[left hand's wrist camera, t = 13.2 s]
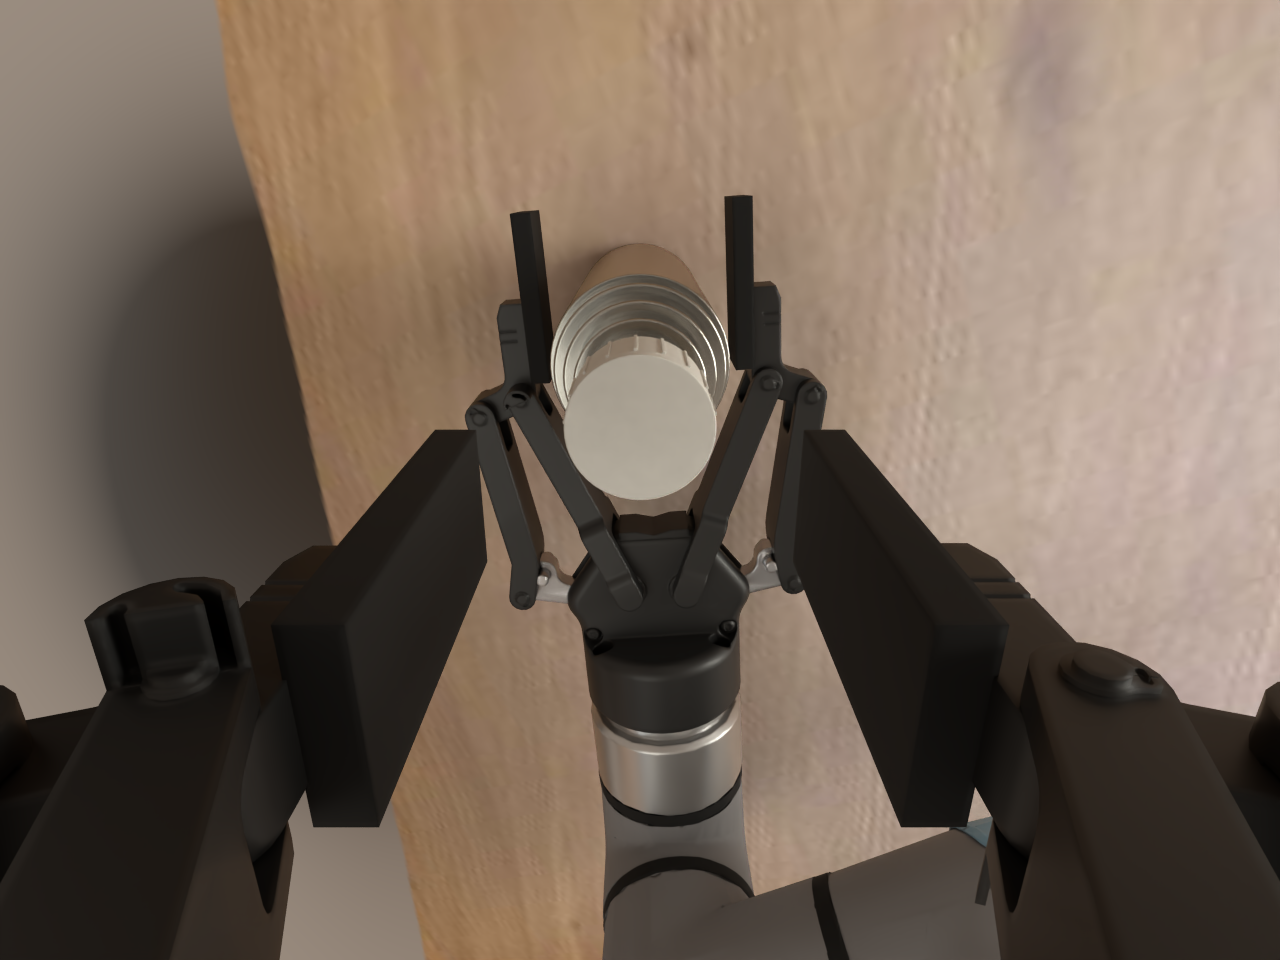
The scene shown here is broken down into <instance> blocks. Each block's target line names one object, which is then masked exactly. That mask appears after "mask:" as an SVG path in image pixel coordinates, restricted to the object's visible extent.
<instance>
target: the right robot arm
mask: <svg viewBox="0 0 1280 960" xmlns="http://www.w3.org/2000/svg"><path fill="white" fill-rule="evenodd" d="M724 198H725V236H726V274H727V312H728V347H729V354H730V359H731V361H732V363H733V365H734V367H735V369H736V370H745V371H744V374H743V376H742V379H741V381H740V384H739V386H738V389H737V392H736V394H735V397H734V399H733V402H732V405H731V407H730V410H729V412H728V415H727V417H726V420H725V423H724V425H723V428H722V430H721V433H720V435H719V438H718V441H717V443H716V446H715V448H714V451H713V453H712V456H711V459H710V461H709V464H708V466H707V469H706V471H705V474H704V477H703V479H702V482H701V484H700V487H699V489H698V490H697V491H696V492H695V494H694V496H693V499H692V501H691V504H690V507H689V509H688V512H687V514H686V511H674V512H667V513H664V514H661V515H658V516H654V517H651V516H645V515H639V514H627V515H620V517H619V515H618V514H617V512H616V510H615V508H614V506H613V505H612V503H611V501H610V499H609V498H608V497H607V496H605V495H604V493H603V492H602V490H600V489H599V488H597V487H596V486H594V485H593V484H592V483H590V482H589V481H588V480H587V479H586V478H585V477H584V476H583V475H582V474H581V473H580V472H579V470H578V469H577V468H576V466H575V465H574V463H573V461H572V459H571V457H570V455H569V453H568V450H567V447H566V443H565V439H564V424H563V419H562V418H561V416H560V414H559V412H558V410H557V409H556V407H555V405H554V403H553V401H552V400H551V398H550V396H549V394H548V392H547V391H546V389H545V387H544V385H543V383H550V381H551V379H552V378H551V369H550V354H551V347H552V342H553V330H552V321H551V312H550V303H549V294H548V286H547V277H546V268H545V259H544V250H543V241H542V232H541V223H540V215H539V210H536V211H522V212H516V213H512V214H510V219H511V227H512V235H513V243H514V251H515V259H516V267H517V275H518V283H519V291H520V298H521V299H513V300H505V301H504V302H503V303H502V304H501V305H500V307H499V311H498V315H497V323H498V330H499V338H500V345H501V352H502V359H503V366H504V373H505V381H504V383H503V384H501V385H500V386H497V387H495V388H493V389H491V390H485V391H483V392H481V393H480V394H479V395H478V397H477V398H476V399H475V401H474V402H473V403H472V404H471V406H470V407H469V408H468V410H467V411H466V414H465V421H466V424H467V427H468V430H476V434H477V446H478V458H479V465H480V468H481V471H482V474H483V477H484V480H485V483H486V486H487V489H488V493H489V496H490V499H491V502H492V505H493V508H494V511H495V514H496V517H497V520H498V524H499V527H500V530H501V533H502V536H503V539H504V542H505V545H506V548H507V552H508V555H509V558H510V561H511V564H512V569H511V582H510V595H509V598H510V602H511V604H512V605H513V606H514V607H515V608H517V609H520V610H527V609H529V608H531V607H532V606H533V605H534V604H535V601H536V600H541V601H550V602H558V603H567V604H568V605H569V608H570V610H571V611H572V613H573V614H574V615H575V616H576V617H577V619H578V620H579V622H580V625H581V627H582V633H583V642H584V650H585V659H586V668H587V676H588V685H589V692H590V697H591V699H592V708H591V713H592V721H593V728H594V736H595V744H596V752H597V759H598V766H599V776H600V782H601V786H602V798H603V811H604V824H605V838H606V860H605V879H604V899H603V919H604V924H603V927H604V933H605V934H604V947H603V959H602V960H1001V957H1000V950H999V942H998V935H997V928H996V921H995V913H994V906H993V899H992V892H991V889H989V893H988V897H987V901H986V905H985V906H984V905H980V904H976V903H975V897H976V891H977V885H978V881H979V876H980V872H981V867H982V863H983V859H984V854H985V850H986V846H987V841H988V837H989V832H990V828H991V824H992V819H993V818H992V817H988V818H983V819H979V820H975V821H971V822H968V823H967V827H950V828H949V831H947V832H944V833H941V834H938V835H936V836H933V837H930V838H927V839H925V840H922V841H919V842H916V843H913V844H911V845H908V846H905V847H902V848H900V849H897V850H894V851H891V852H888V853H886V854H883V855H880V856H877V857H874V858H872V859H869V860H866V861H863V862H861V863H858V864H855V865H852V866H849V867H847V868H844V869H841V870H838V871H835V872H833V873H830V872H829V873H825V874H822V875H819V876H816V877H812V878H809V879H806V880H803V881H800V882H797V883H794V884H791V885H788V886H785V887H782V888H779V889H776V890H773V891H770V892H766V893H763V894H760V895H757V896H754V892H753V886H752V880H751V874H750V867H749V861H748V855H747V849H746V841H745V831H744V815H743V798H742V782H741V776H742V759H743V756H742V726H741V697H740V694H739V689H740V646H739V616H740V612H741V610H742V608H743V606H744V604H745V603H746V601H747V599H748V596H749V593H751V592H756V591H760V590H764V589H768V588H772V587H777V586H782V588H783V590H784V591H786V592H787V593H790V594H797V593H799V592H802V591H803V590H804V588H803V585H802V583H801V580H800V578H799V576H798V573H797V571H796V568H795V566H794V563H793V552H794V540H795V529H796V517H797V505H798V493H799V481H800V470H801V458H802V446H803V434H804V430H821V428H822V422H823V416H824V411H825V405H826V400H827V391H826V389H825V387H824V386H823V385H822V384H821V383H820V381H819V380H818V379H817V378H816V377H815V376H814V375H813V374H812V373H811V372H810V371H809V370H807V369H803V368H801V369H798V368H794V367H791V366H787V365H785V364H783V363H782V360H781V297H780V294H779V292H778V289H777V287H776V285H775V284H773V283H772V282H770V281H766V282H754V269H753V196H749V195H737V196H724ZM777 399H780V400H784V403H783V410H782V416H781V422H780V429H779V435H778V442H777V448H776V455H775V461H774V467H773V474H772V480H771V487H770V493H769V500H768V506H767V512H766V534H767V539H761V540H760V541H759V542H758V543H757V544H756V546H755V548H754V556H753V558H752V560H751V561H750V562H749V563H748V564H746V565H744V566H742V565H741V564H740V563H739V562H738V561H737V559H736V558H735V557H734V556H733V555H732V554H731V553H730V552H729V550H728V549H727V548H726V547H725V546H724V545H723V544H722V541H723V538H724V536H725V533H726V530H727V525H728V519H729V516H730V513H731V511H732V508H733V506H734V504H735V501H736V499H737V496H738V494H739V491H740V489H741V486H742V484H743V482H744V479H745V477H746V474H747V472H748V469H749V467H750V465H751V462H752V460H753V457H754V455H755V452H756V450H757V448H758V445H759V443H760V440H761V438H762V435H763V433H764V431H765V428H766V426H767V423H768V421H769V418H770V416H771V413H772V411H773V409H774V406H775V404H776V401H777ZM511 417H514V418H515V420H516V422H517V424H518V425H519V427H520V429H521V430H522V432H523V434H524V436H525V437H526V439H527V441H528V443H529V444H530V446H531V448H532V449H533V451H534V453H535V455H536V456H537V458H538V460H539V461H540V463H541V465H542V467H543V468H544V470H545V472H546V474H547V475H548V477H549V479H550V480H551V482H552V484H553V486H554V487H555V489H556V491H557V493H558V494H559V496H560V498H561V499H562V501H563V503H564V505H565V506H566V508H567V510H568V512H569V513H570V515H571V517H572V518H573V520H574V522H575V524H576V525H577V527H578V530H579V534H580V537H581V540H582V542H583V544H584V546H585V547H586V549H587V551H588V553H587V555H586V556H585V558H584V559H583V561H582V562H581V564H580V565H579V567H578V568H577V570H576V571H575V573H574V574H573V576H569V575H566V574H564V573H563V572H562V571H561V569H560V567H559V563H558V560H557V558H556V557H555V556H554V555H553V554H552V553H551V552H544V536H543V532H542V527H541V524H540V521H539V517H538V514H537V511H536V507H535V504H534V501H533V497H532V494H531V491H530V487H529V484H528V481H527V477H526V474H525V471H524V467H523V464H522V460H521V457H520V454H519V450H518V447H517V444H516V440H515V437H514V434H513V430H512V427H511V424H510V420H509V418H511Z"/></svg>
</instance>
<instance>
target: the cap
mask: <svg viewBox="0 0 1280 960" xmlns="http://www.w3.org/2000/svg"><path fill="white" fill-rule="evenodd" d="M708 389H709V387H708V384H707V382H706V379H705V376H704V373H703V371H702V370H699V368H698V367H697V365H696V364H695V363H694V361H693V360H692V359H691V358H690V357H689V356H688V354H687V351H685V350H684V351H682V350H681V349H679V348H678V347H677V346H675V345H673V344H671V343H669V342H667V341H664V338H660V339H657V338H653V337H644V336H637V335H634V337H627V338H622V339H619V340H616V341H613V342H611V341H609V342H608V344H607V345H605V346H604V347H602V348H601V349H599V350H598V351H596V352H595V353H594V354H593V355H592V356H591V357H590V356H588V357H587V359H586V362H585V364H584V365H583V367H582V368H581V370H580V372H579V374H578V376H577V378H575V377H574V379H573V382H572V385H571V388H570V391H569V393H568V396H567V397H568V398H569V401H568V404H567V407H566V411H565V416H564V419H563V424H564V439H565V443H566V447H567V450H568V453H569V455H570V457H571V459H572V461H573V463H574V465H575V466H576V468H577V469H578V470H579V472H580V473H581V474H582V475H583V476H584V477H585V478H586V479H587V480H588V481H589V482H590V483H592V484H593V485H594V486H596V487H597V488H599V489H600V490H602V491H604V492H606V493H608V494H610V495H613V496H616V497H619V498H624V499H629V500H650V499H656V498H660V497H664V496H667V495H669V494H672V493H674V492H676V491H678V490H680V489H681V488H683V487H685V486H686V485H687V484H688V483H690V482H691V481H692V480H693V479H694V478H695V477H696V476H697V475H698V474H699V473H700V472H701V470H702V469H703V468H704V466H705V465H706V463H707V461H708V459H709V457H710V455H711V453H712V450H713V447H714V443H715V438H716V417H715V415H717V412H716V409H715V406H714V403H713V400H712V397H711V394H709V392H708Z"/></svg>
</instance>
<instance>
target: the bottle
mask: <svg viewBox="0 0 1280 960" xmlns="http://www.w3.org/2000/svg"><path fill="white" fill-rule="evenodd" d="M634 335H637V336H644V337H653V338H657V339H660V338H664V341H667V342H669V343H671V344H673V345H675V346H677V347H678V348H679V349H681V350H682V351H684V350H685V351H687V354H688V356H689V357H690V358H691V359H692V360H693V361H694V363H695V364H696V365H697V367H698V368H699V370H702V371H703V373H704V376H705V379H706V382H707V384H708V387H709V389H708V392H709V394H711V397H712V400H713V403H714V406H715V409H717V407H718V405H719V403H720V402H721V400H722V397H723V395H724V392H725V390H726V386H727V382H728V377H729V370H730V354H729V347H728V342H727V339H726V335H725V332H724V330H723V327H722V325H721V323H720V321H719V319H718V317H717V316H716V314H715V312H714V311H713V309H712V307H711V306H710V304H709V302H708V301H707V299H706V297H705V296H704V294H703V292H702V290H701V289H700V287H699V285H698V284H697V282H696V280H695V279H694V277H693V275H692V274H691V272H690V270H689V269H688V268H687V266H686V265H685V264H684V263H683V262H682V261H681V260H680V259H679V258H678V257H677V256H675V255H674V254H673V253H671V252H669V251H667V250H665V249H663V248H661V247H658V246H654V245H650V244H631V245H625V246H622V247H619V248H617V249H615V250H613V251H611V252H609V253H608V254H606V255H605V256H603V257H602V258H601V259H600V260H599V261H598V262H597V263H596V264H595V265H594V266H593V267H592V269H591V270H590V272H589V274H588V275H587V277H586V278H585V280H584V282H583V284H582V285H581V287H580V289H579V290H578V292H577V294H576V295H575V297H574V299H573V300H572V302H571V304H570V305H569V307H568V309H567V310H566V312H565V314H564V316H563V317H562V319H561V321H560V323H559V325H558V327H557V329H556V332H555V335H554V338H553V342H552V347H551V354H550V369H551V378H552V382H553V386H554V389H555V392H556V395H557V397H558V400H559V401H560V403H561V405H562V407H563V409H564V410H565V411H566V407H567V404H568V401H569V398H568V397H567V396H568V393H569V391H570V388H571V385H572V382H573V379H574V377H575V378H577V376H578V374H579V372H580V370H581V368H582V367H583V365H584V364H585V362H586V359H587V357H588V356H590V357H591V356H592V355H593V354H594V353H595V352H596V351H598V350H599V349H601V348H602V347H604V346H605V345H607V344H608V342H609V341H611V342H613V341H616V340H619V339H622V338H627V337H634Z"/></svg>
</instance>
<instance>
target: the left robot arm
mask: <svg viewBox="0 0 1280 960" xmlns="http://www.w3.org/2000/svg"><path fill="white" fill-rule="evenodd" d="M486 563H487V552H486V540H485V529H484V517H483V505H482V493H481V481H480V470H479V458H478V446H477V434H476V430H434V432H433V433H432V434H431V435H430V436H429V438H428V439H427V440H426V441H425V442H424V444H423V445H422V446H421V447H420V448H419V449H418V451H417V452H416V453H415V454H414V455H413V457H412V458H411V459H410V460H409V461H408V462H407V464H406V465H405V466H404V467H403V468H402V470H401V471H400V472H399V473H398V474H397V476H396V477H395V478H394V479H393V480H392V481H391V483H390V484H389V485H388V486H387V487H386V489H385V490H384V491H383V492H382V493H381V495H380V496H379V497H378V498H377V499H376V500H375V502H374V503H373V504H372V505H371V506H370V508H369V509H368V510H367V511H366V512H365V514H364V515H363V516H362V517H361V518H360V519H359V521H358V522H357V523H356V524H355V525H354V527H353V528H352V529H351V530H350V531H349V532H348V534H347V535H346V536H345V537H344V538H343V540H342V541H341V542H340V543H339V544H338V546H312V547H310V548H308V549H306V550H304V551H303V552H301V553H299V554H297V555H295V556H294V557H292V558H290V559H288V560H286V561H285V562H283V563H282V564H281V565H280V566H279V567H278V568H277V570H276V571H275V572H274V573H273V574H272V575H271V576H270V577H269V578H268V579H267V580H266V581H265V582H266V583H265V585H261V586H260V587H259V589H258V590H257V591H256V592H255V593H254V594H253V595H252V596H251V597H250V601H246V602H245V603H244V604H243V605H242V606H241V607H240V608H239V604H238V600H237V596H236V591H235V588H234V587H233V586H231V585H230V584H228V583H227V582H225V581H224V580H220V579H214V578H208V577H191V578H177V579H172V580H167V581H162V582H157V583H152V584H149V585H146V586H143V587H140V588H137V589H134V590H131V591H129V592H126V593H123V594H121V595H119V596H117V597H116V598H114V599H112V600H110V601H108V602H106V603H104V604H103V605H101V606H99V607H98V608H97V609H96V610H95V611H94V612H93V613H91V614H90V615H89V616H88V617H87V618H86V619H85V620H84V621H85V624H86V627H87V631H88V634H89V637H90V640H91V643H92V646H93V649H94V653H95V656H96V659H97V662H98V665H99V668H100V671H101V674H102V678H103V681H104V684H105V687H106V690H107V691H106V693H105V695H104V697H103V699H102V700H101V702H100V704H99V706H97V707H93V708H88V709H83V710H78V711H72V712H67V713H62V714H57V715H52V716H46V717H41V718H36V719H30V720H25V717H24V715H23V712H22V709H21V707H20V704H19V702H18V699H17V696H16V694H15V693H14V692H12V691H11V690H9V689H8V688H6V687H5V686H3V685H0V960H279V959H280V952H281V945H282V937H283V930H284V922H285V915H286V908H287V901H288V894H289V886H290V879H291V872H292V865H293V857H294V850H293V843H292V837H291V833H290V828H289V824H288V820H289V818H290V816H291V815H292V813H293V811H294V809H295V807H296V805H297V804H298V802H299V800H300V798H301V797H302V795H303V793H304V791H305V790H306V794H307V799H308V804H309V809H310V813H311V818H312V823H313V827H379V826H380V823H381V821H382V818H383V816H384V814H385V811H386V808H387V806H388V804H389V801H390V799H391V796H392V794H393V791H394V789H395V787H396V784H397V782H398V779H399V777H400V774H401V772H402V769H403V767H404V764H405V762H406V760H407V757H408V755H409V752H410V750H411V747H412V745H413V742H414V740H415V737H416V735H417V733H418V730H419V728H420V725H421V723H422V720H423V718H424V715H425V713H426V710H427V708H428V706H429V703H430V701H431V698H432V696H433V693H434V691H435V688H436V686H437V684H438V681H439V679H440V676H441V674H442V671H443V669H444V666H445V664H446V661H447V659H448V657H449V654H450V652H451V649H452V647H453V644H454V642H455V639H456V637H457V634H458V632H459V630H460V627H461V625H462V622H463V620H464V617H465V615H466V612H467V610H468V607H469V605H470V603H471V600H472V598H473V595H474V593H475V590H476V588H477V585H478V583H479V580H480V578H481V576H482V573H483V571H484V568H485V566H486ZM793 563H794V566H795V568H796V571H797V573H798V576H799V578H800V580H801V583H802V585H803V588H804V590H805V593H806V595H807V598H808V600H809V603H810V605H811V607H812V610H813V612H814V615H815V617H816V620H817V622H818V625H819V627H820V630H821V632H822V634H823V637H824V639H825V642H826V644H827V647H828V649H829V652H830V654H831V657H832V659H833V661H834V664H835V666H836V669H837V671H838V674H839V676H840V679H841V681H842V684H843V686H844V688H845V691H846V693H847V696H848V698H849V701H850V703H851V706H852V708H853V710H854V713H855V715H856V718H857V720H858V723H859V725H860V728H861V730H862V733H863V735H864V737H865V740H866V742H867V745H868V747H869V750H870V752H871V755H872V757H873V760H874V762H875V764H876V767H877V769H878V772H879V774H880V777H881V779H882V782H883V784H884V787H885V789H886V791H887V794H888V796H889V799H890V801H891V804H892V806H893V809H894V811H895V814H896V816H897V818H898V821H899V823H900V826H901V827H967V823H968V818H969V813H970V809H971V804H972V799H973V794H974V790H975V787H976V789H977V791H978V793H979V794H980V796H981V798H982V800H983V802H984V803H985V805H986V807H987V809H988V810H989V812H990V814H991V816H992V818H993V819H992V824H991V828H990V832H989V837H988V841H987V846H986V850H985V854H984V859H983V863H982V867H981V872H980V876H979V881H978V885H977V891H976V897H975V903H976V904H980V905H984V906H985V905H986V901H987V897H988V893H989V889H991V892H992V899H993V906H994V913H995V921H996V928H997V935H998V942H999V950H1000V957H1001V960H1280V682H1277V683H1276V684H1274V685H1272V686H1271V687H1269V688H1268V689H1266V691H1265V693H1264V696H1263V699H1262V701H1261V704H1260V707H1259V709H1258V712H1257V715H1256V717H1253V716H1248V715H1242V714H1237V713H1232V712H1226V711H1221V710H1216V709H1210V708H1205V707H1200V706H1195V705H1189V704H1185V703H1181V702H1180V701H1179V699H1178V697H1177V695H1176V694H1175V692H1174V690H1173V689H1172V688H1171V687H1170V685H1169V684H1168V683H1167V682H1166V681H1165V680H1164V679H1163V678H1162V676H1161V675H1160V674H1158V673H1157V672H1155V671H1154V670H1152V669H1151V668H1149V667H1148V666H1146V665H1144V664H1143V663H1141V662H1140V661H1138V660H1136V659H1134V658H1131V657H1129V656H1126V655H1124V654H1122V653H1119V652H1117V651H1114V650H1112V649H1108V648H1104V647H1100V646H1096V645H1091V644H1087V643H1078V642H1075V640H1074V639H1073V638H1072V637H1071V636H1070V635H1069V634H1068V633H1067V632H1066V631H1065V630H1064V629H1063V628H1062V627H1061V626H1060V625H1059V624H1058V623H1057V622H1056V621H1055V620H1054V619H1053V617H1052V616H1051V615H1050V614H1049V613H1048V612H1047V611H1046V610H1045V609H1044V608H1043V607H1042V606H1041V605H1040V604H1039V603H1038V602H1037V601H1036V600H1035V599H1034V598H1030V593H1029V592H1028V591H1027V590H1026V589H1025V588H1024V587H1023V586H1022V585H1021V584H1020V583H1019V582H1015V578H1014V577H1013V576H1012V575H1011V574H1010V573H1009V572H1008V571H1007V569H1006V568H1005V567H1004V566H1003V565H1002V564H1001V563H1000V562H999V561H998V560H997V559H995V558H993V557H992V556H990V555H988V554H986V553H984V552H982V551H981V550H979V549H977V548H975V547H973V546H972V545H970V544H968V543H940V542H939V541H938V540H937V538H936V537H935V536H934V535H933V534H932V532H931V531H930V530H929V529H928V528H927V527H926V525H925V524H924V523H923V522H922V521H921V519H920V518H919V517H918V516H917V515H916V514H915V512H914V511H913V510H912V509H911V508H910V506H909V505H908V504H907V503H906V502H905V500H904V499H903V498H902V497H901V496H900V495H899V493H898V492H897V491H896V490H895V489H894V487H893V486H892V485H891V484H890V483H889V481H888V480H887V479H886V478H885V477H884V476H883V474H882V473H881V472H880V471H879V470H878V468H877V467H876V466H875V465H874V464H873V462H872V461H871V460H870V459H869V458H868V457H867V455H866V454H865V453H864V452H863V451H862V449H861V448H860V447H859V446H858V445H857V444H856V442H855V441H854V440H853V439H852V438H851V436H850V435H849V434H848V433H847V432H846V430H804V434H803V446H802V458H801V470H800V481H799V493H798V505H797V517H796V529H795V540H794V552H793Z"/></svg>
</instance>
